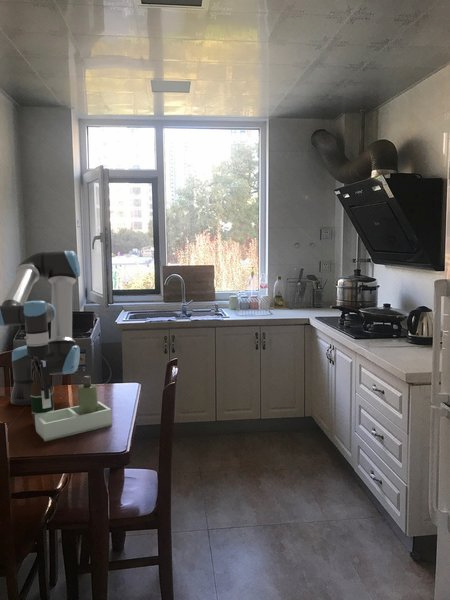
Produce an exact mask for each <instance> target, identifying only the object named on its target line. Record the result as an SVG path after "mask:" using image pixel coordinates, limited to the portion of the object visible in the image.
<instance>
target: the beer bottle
mask: <svg viewBox="0 0 450 600" xmlns="http://www.w3.org/2000/svg"><path fill="white" fill-rule="evenodd" d="M35 361H37V359H36V358H35V359H34V362H35ZM46 386H47V385H46ZM40 389H42V386H41V381H40V377H39V374H38V373H37V371H36V367H35V380H34V383H33V384H32V386H31V390H30V397H31V405H30V408H31V421H32V425H33V426H35V415H37V414H42V413H46V412H51V411H55V404H54V391H53V387H52V388H51V389H50V398H51V407H49V408H44V409H43V405H42V392H41V391H40Z"/></svg>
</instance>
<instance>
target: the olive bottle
mask: <svg viewBox="0 0 450 600" xmlns="http://www.w3.org/2000/svg"><path fill="white" fill-rule="evenodd" d="M77 393H78V394H77V396H78V406H79V412H80V415H84V414H88V413H93V412H97V411H98V402H99V400H98V386H97V384H94V383H93V384H92V380H91V375H84V376H82V384H81V385H80V386H78V387H77Z"/></svg>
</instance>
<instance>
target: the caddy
mask: <svg viewBox="0 0 450 600" xmlns="http://www.w3.org/2000/svg"><path fill="white" fill-rule="evenodd" d="M112 415H113V413H112V409H111V408H110V407H108V406H106V405H105V404H104V403H102V402H101V401H98V411H97V412H93V413H88V414H84V415H80V412H79V405H76V406H71V407H66V408H62V409H61V408H60V409H57V410H54V411H51V412H46V413H42V414H37V415H35V425H34V426H35V432H36V433H37V434H38V435H39V436H40V438H41V439H42V440H43V441H44V442H48V441H54V440H58V439H61V438H66V437H69V436H74V435H78V434H81V433H85V432H90V431H94V430H98V429H102V428H106V427H110V426H113V416H112Z"/></svg>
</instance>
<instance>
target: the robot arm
mask: <svg viewBox="0 0 450 600" xmlns="http://www.w3.org/2000/svg"><path fill="white" fill-rule="evenodd" d="M80 276H81V266H80V261H79V258H78V255H77V253H76V252H75V251H73V250H59V251H58V250H57V251H56V250H54V251H38V252H34V253H32V254H30V255H28V256H27V257H26V258H24V259H23V260H22V261H21V262H20V263H19V264H18V266H17V267H16V270H15V277H14V280H13V282H12V284H11V285H10V288H9V290H8V292H7V294H6V296H5V297H4V299H3V302H2V303H1V305H0V327H6V326H7V327H8V326H20V325H22V326H25V328H24V329H25V335H26V336H24V337H23V338H24V340H25V341H26V345H23V346H19V347H16V348H15V349H13V350H12V352H11V363H12V373H13V374H12V375H13V387H12V390H11V396H10V404H11V405H13V406H31V397H30V390H31V386H32V384H33V383H34V380H35V367H36V371H37V373H38V374H39V377H40V381H41V386H42V389H40V391H41V392H42V405H43V409H44V408H49V407H51V398H50V389H51V388H52V389H53V385H52V382H51V377H50V375H54V376H55V375H67V374H69V375H70V374H74V373H75V372H77V370H78V368H79V365H80V357H81V353H80V352H81V349H80V346H79V345H77V344H76V343H77V342H76V341H75V340H74V338H73V285H74V284H75V283H76V282H77V278H79V277H80ZM39 279H47V281H48V282H49V283H50V284H51V303H49V302H46V301H44V300H30V301H29V300H28V298H29V295H30V293H31V291H32V288H33V286H34V285H35V283H36V282H38V281H39ZM27 300H28V301H27ZM48 323H50V335H49V329H48V327H49V326H48V325H49V324H48ZM49 336H50V338H49ZM35 358H36V359H37V361H35V362H34V359H35ZM46 385H47V386H46Z"/></svg>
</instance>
